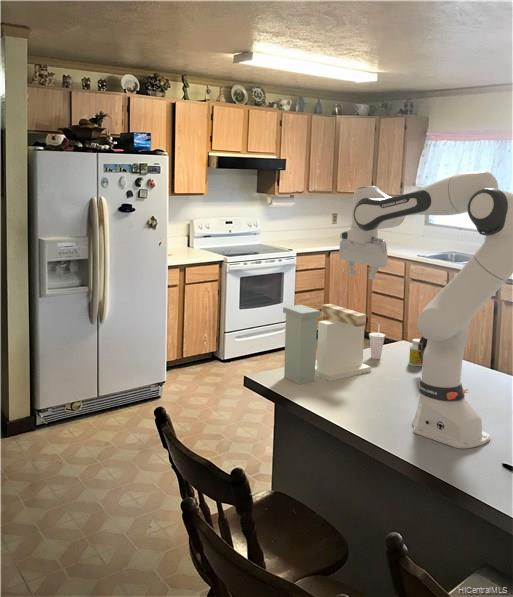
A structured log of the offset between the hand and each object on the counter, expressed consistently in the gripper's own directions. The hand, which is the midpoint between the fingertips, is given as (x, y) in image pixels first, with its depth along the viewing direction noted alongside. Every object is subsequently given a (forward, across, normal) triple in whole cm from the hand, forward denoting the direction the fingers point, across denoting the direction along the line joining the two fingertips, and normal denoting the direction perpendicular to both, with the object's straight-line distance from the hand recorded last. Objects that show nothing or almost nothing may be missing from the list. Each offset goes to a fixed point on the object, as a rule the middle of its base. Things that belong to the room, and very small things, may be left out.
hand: (361, 276), depth 214 cm
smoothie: (+39, +22, -30) cm, 54 cm away
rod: (+19, +16, -6) cm, 25 cm away
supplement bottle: (+39, +8, -38) cm, 55 cm away
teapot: (+39, -11, -29) cm, 50 cm away
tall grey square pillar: (+39, +17, +12) cm, 44 cm away
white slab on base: (+39, +16, -6) cm, 43 cm away
